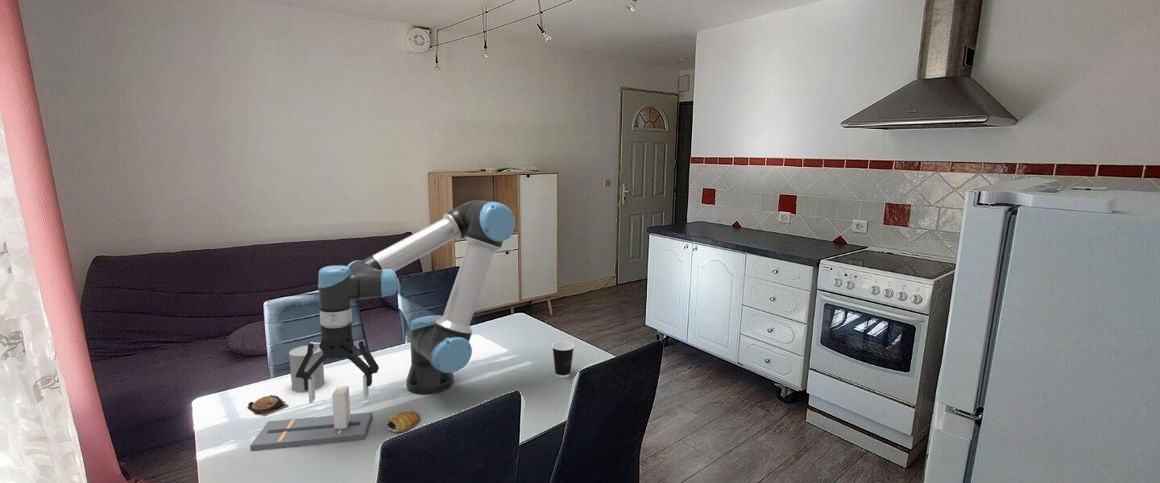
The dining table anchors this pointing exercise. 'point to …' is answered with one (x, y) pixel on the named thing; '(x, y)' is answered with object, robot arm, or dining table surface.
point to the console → (310, 431)
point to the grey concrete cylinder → (295, 363)
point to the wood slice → (267, 405)
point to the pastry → (402, 421)
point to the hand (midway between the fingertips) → (339, 399)
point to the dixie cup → (563, 358)
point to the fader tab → (341, 407)
